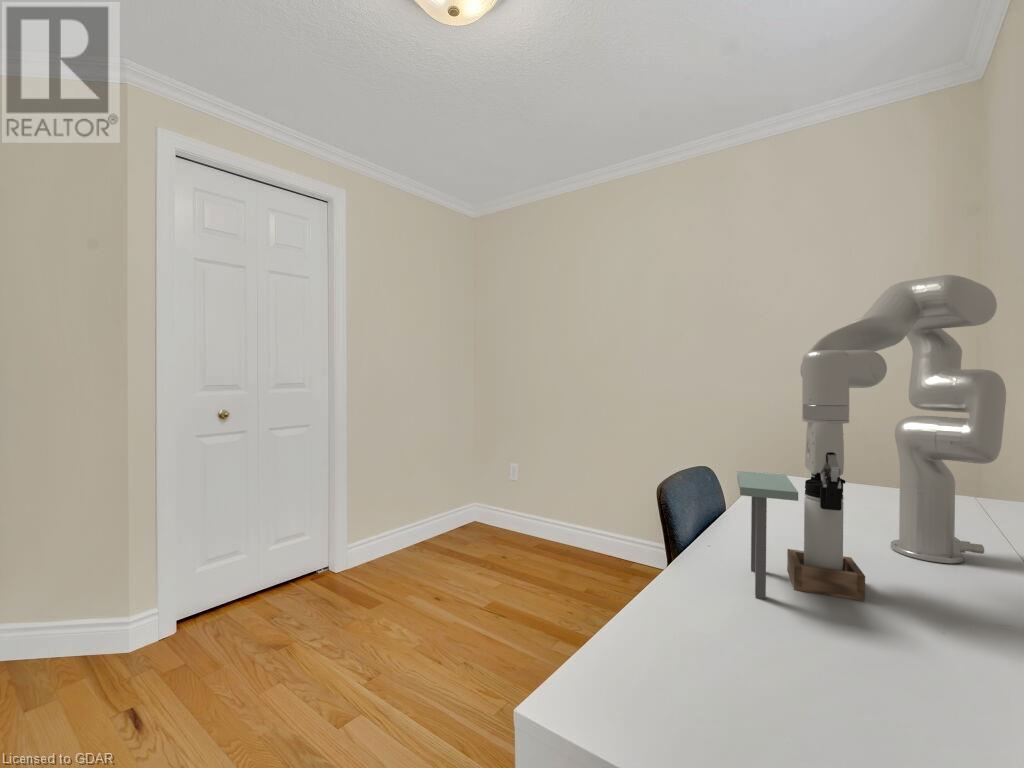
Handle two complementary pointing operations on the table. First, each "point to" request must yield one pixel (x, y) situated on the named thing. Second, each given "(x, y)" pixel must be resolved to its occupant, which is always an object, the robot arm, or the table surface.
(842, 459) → the robot arm
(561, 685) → the table surface
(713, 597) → the table surface
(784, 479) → the panel
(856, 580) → the brown wooden tray
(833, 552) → the travel mug
